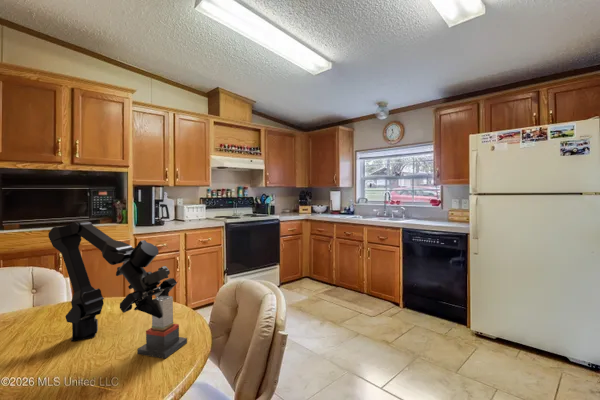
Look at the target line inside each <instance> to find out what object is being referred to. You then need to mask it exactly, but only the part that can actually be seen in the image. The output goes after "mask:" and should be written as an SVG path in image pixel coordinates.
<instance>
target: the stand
mask: <svg viewBox="0 0 600 400" xmlns="http://www.w3.org/2000/svg"><path fill="white" fill-rule="evenodd" d="M187 343H188V338H187V337H182V336H180V324H179V323H173V327H171V328H169V329H168V330H166V331H164V332H161V331H154V330H152V327H150V328H148V329H147V330H145V344H143V345H141V346H140V347H139V348H137V350H136V351H137V352H136V353H137V355H141V356H147V357H153V358H159V359H167V358H168V357H170V356H171V355H172V354H174V353H175V352H176V351H178V350H179V349H180V348H182V347H183V346H184V345H186V344H187Z"/></svg>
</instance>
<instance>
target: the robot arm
mask: <svg viewBox="0 0 600 400" xmlns="http://www.w3.org/2000/svg"><path fill="white" fill-rule="evenodd" d="M47 234H48V235H47V236H48V239H49V241H50V243H51V245H52V247H53V248H55V250H57V251H58V252H59V253H60V254H61V256H62V259H63V262H64V265H65V269H66V271H67V274H68V277H69V280H70V284H71V286H72V290H73V294H72V298H71V301H70V304H71V308H70V310H69V311H68V312H67V313H66V314H65V319H66V323H71V328H72V329H71V332H72V337H71V339H70V341H71V342H76V341H82V340H87V339H91V338H95V337H96V335H97V334H98V330H99V323H98V322H99V319H98V318H97V316H98V315H101V314H102V309H103V307H104V299H105V298H104V297H103V294H102V290H101V289H100V288H95V287H94V286H92V284H91V281H90V278H89V275H88V272H87V269H86V265H85V263H84V259H83V257H82V253H81V251H80V245H81V242H82V238H83V239H84V240H85V241H87V242H88V243H89V244H91V245H92V246H94V247H95V248H96V249H98V250H99V251H100V252H101V256H102V258H103V259H104V260H105V261H106V262H107V263H108V264H109V265H112V266H113V265H114V266H115V265H119V264H122V265H121V266H118V267H117V268H116V273H115V276H116V277H118V276H119V277H120V276H123V277H124V278H125V280H126V281H127V283H128V284H129V285H128V286H127V288H128V289H129V290H131V289H133V290H134V291H133V292H130V293H128V294H127V295H126V296H125V297H124V298H123V300H122V301H121V302H120V303H119V309H120V310H121V312H122V313H123V314H125V313H126V312H129V311H131V310H132V309H133V305H135V307H134V309H133V310H134V311H139V312H143V313H145V314H148V315H150V316H151V317H152V316H155V317H157V318H161V317H162V315H161V313H160V311H159V310H158V308H157V307H156V305H155V304H154V302H153V299H154V298H153V296H155V298H157V297H159V296H170V295H169V293H170V292H171V291H172V289H174V287H175V286H176V285H177V284H178V282H177V281H176V279H175V278H174V277H170V278H169V276H170V274H171V272H170V269H169V268H168V267H167V266H166V265H164V266H161V267H159V268H158V270H155V271H153V272H152V271H147V270H145V268H146V267H148V266H149V265H150V264H151V263H152V261H153V260H154V259H155V258H156V257H157V255H158V254H159V253H160V251H159V248H158V247H157V245H155V244H153V243H150V242H147V241H146V239H145V240H139V242H138V243H137V245H136V246H132V245H131V244H128V243H126V242H124V241H121V240H115V239H113V238H112V237H110V236H109V235H108V234H106V233H104V232H103V231H102V230H100V229H99V228H97V227H96V226H94V225H93V223H92V222H91V221H88V220H85V221H84V220H82V221H75V222H72V223H70V224H67V225H66V224H65V225H59V226H53V227H52V228H51V230H49V232H48V233H47ZM162 280H163V281H162ZM161 281H162V282H161Z"/></svg>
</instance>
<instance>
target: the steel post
mask: <svg viewBox="0 0 600 400" xmlns="http://www.w3.org/2000/svg"><path fill="white" fill-rule="evenodd" d="M173 298H174V296H170V295H169V296H159V297H155V298H152V299H153V302H154V304H155V305H156V307H157V308H158V310H159V311H160V313H161V315H162V317H161V318H157V317H155V316H152V315H151V320H152V321H151V328H152V330H154V331H161V332H164V331H166V330H168V329H169V328H171V327H173V324H174V304H173V303H174V300H173Z"/></svg>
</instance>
